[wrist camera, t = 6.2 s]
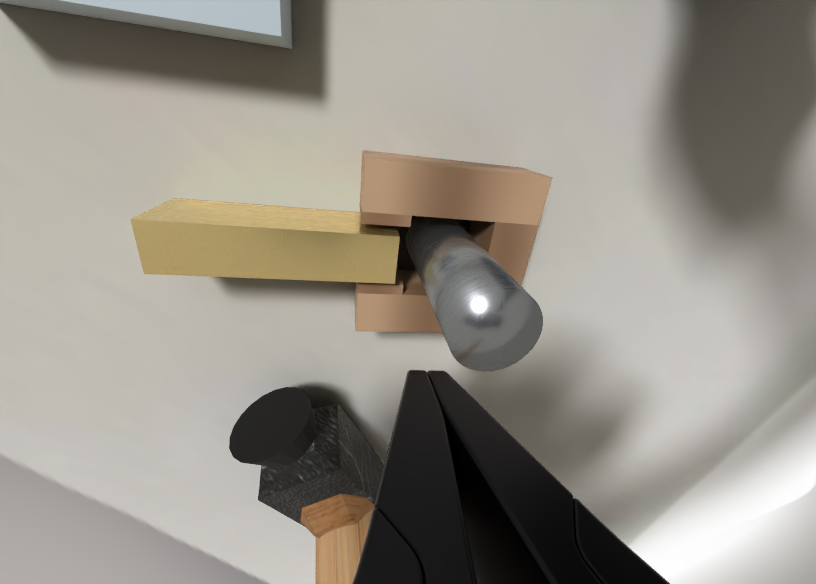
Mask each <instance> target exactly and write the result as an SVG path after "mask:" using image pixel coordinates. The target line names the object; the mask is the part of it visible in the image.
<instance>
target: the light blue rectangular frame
mask: <svg viewBox="0 0 816 584" xmlns="http://www.w3.org/2000/svg"><path fill="white" fill-rule="evenodd" d="M0 3H5V4H11V5H18V6H24V7H30V8H37V9H43V10H49V11H56V12H62V13H68V14H75V15H81V16H87V17H94V18H100V19H106V20H113V21H119V22H125V23H132V24H138V25H144V26H151V27H157V28H163V29H170V30H176V31H182V32H189V33H195V34H201V35H208V36H214V37H220V38H227V39H233V40H239V41H246V42H252V43H258V44H265V45H271V46H277V47H284V48H290V49H292V21H291V0H0Z"/></svg>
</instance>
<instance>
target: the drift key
mask: <svg viewBox="0 0 816 584" xmlns="http://www.w3.org/2000/svg"><path fill="white" fill-rule="evenodd" d="M131 223H132V227H133V231H134V235H135V239H136V243H137V247H138V251H139V255H140V259H141V263H142V267H143V271H144V274H161V275H186V276H211V277H237V278H262V279H287V280H312V281H337V282H362V283H388V284H395V277H396V268H397V259H398V249H399V240H400V236H399V233H398V231H397V228H396V226H389V225H375V224H361V214H360V213H359V212H346V211H333V210H319V209H306V208H293V207H280V206H267V205H254V204H241V203H228V202H215V201H202V200H189V199H176V198H173V199H171V200H169V201H167V202H165V203H163V204H161V205H159V206H157V207H155V208H152V209H150V210H148V211H146V212H144V213H142V214H140V215H138V216H136V217H134V218H132V219H131Z"/></svg>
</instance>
